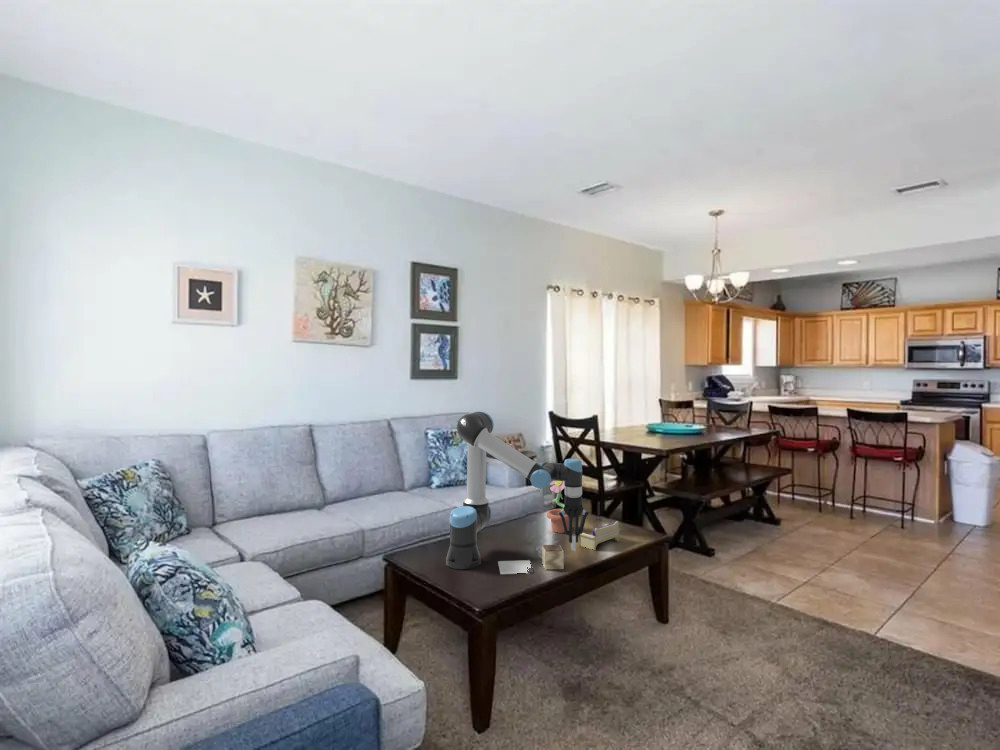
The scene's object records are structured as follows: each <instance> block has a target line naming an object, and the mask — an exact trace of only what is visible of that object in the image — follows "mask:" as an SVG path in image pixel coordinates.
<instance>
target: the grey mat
mask: <svg viewBox="0 0 1000 750" xmlns="http://www.w3.org/2000/svg"><path fill="white" fill-rule="evenodd" d="M497 563H498V564H497V565H498V568H499V569H498V570H499V574H500V575H518V574H517V573H526V574H529V573H528V572H527V570H528V569H529V568H531V565H532V563H531V561H530V559H528V560H523V559H522V560H500V561H498V560H497ZM530 563H531V564H530ZM527 567H528V569H527ZM528 571H529V570H528Z"/></svg>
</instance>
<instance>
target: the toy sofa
mask: <svg viewBox="0 0 1000 750" xmlns="http://www.w3.org/2000/svg"><path fill="white" fill-rule="evenodd" d="M619 524H620V522H619V521H618V520H615V521H614V522H613V521H612V522H610V523H609V524H608V523H605V524H604V525H602V526H600V527H595V528H593V529H592V531H591V532H592V533H589V534H588V533H585V532H583V533H582V534H579V535H580V546H581V547H583V548H585V547H586V548H585V549H588V548H589V549H588V550H592V549H593V550H592V551H596V550H597V546H598V544H601V543H604V542H606V541H609V540H612V541H615V542H620V532H621V528H620V527H619Z"/></svg>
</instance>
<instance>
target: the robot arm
mask: <svg viewBox="0 0 1000 750" xmlns="http://www.w3.org/2000/svg"><path fill="white" fill-rule="evenodd" d="M494 426H495V424H494V419H493V418H492V416H491V415H490V414H488V413H487V412H485V411H473V412H471V413H467V414H464V415H462V416H461V417H460V418H459V419H458V421H457V424H456V431H457V433H458V436H459V437H460V438H461V439H462V440H463V441H464V443H465V444H466V445H467V458H466V459H467V461H466V462H467V463H466V467H467V469H466V496H465V498H464V499H463V500H462V506H459V507H454V509H452V510H451V512H450V513H449V520H448V521H449V547H448V551H447V555H446V557H445V565H446V567H449V568H451V569H454V570H469V569H470V570H471V569H475V568H478V567H479V566H480V565H481V564H482V557H481V553H480V551H479V547H478V545H477V543H478V541H477V540H478V539H477V537H478V536H477V535H478V534H477V533H478V532H480V531H481V530H482V529H484V528H485V527H486V526H488V525H489V523H490V521H491V519H492V509H491V506H489V499H488V498H487V497H486V490H487V489H486V484H487V483H486V481H487V480H486V479H487V454H488V455H491V456H492V457H493V458H495V459H497V461H500V462H501V463H503V464H504V465H505V466H507V467H509V468H510V469H511V470H513V471H515V472H517V473H518V474H520V475H521V476H523V477H524V478H527V480H529V481H530V483H531V485H532V486H533V488H536V489H538V490H539V489H541V490H542V489H544V488H546V487H548V486H549V485H550V483H551V482H552V481H564V483H565V484H564V485H565V488H564V498H563V499H564V508H563V507H562V509H563V510H562V511H559V512H558V513H559V515H560V516H561V520H562V524H563V528H564V532H565V533H564V534H565V535H567V536H568V542H569V544H570V550H571V551H572V552H576V549H577V543H578V542H579V535H580V534H582V533H584V527H585V523H586V519H587V517H588V515H589V512H588V510H585V509H584V507H583V496H582V495H583V464H582V460H580V459H578V458H566V459H564V462H563V463H558V462H547V461H545V462H539V463H538V462H537V461H534V460H533V459H531V458H530V457H528V456H526V455H525V454H523V453H522V452H520V451H519V450H518V449H516V448H514V447H513V446H511V445H509V444H508V443H506V442H505V441H504V440H502V439H500V438H499V437H496V435H493V434H492V432H493V430H494ZM564 512H565V513H566V514H567V515H568V530H567V526H566V522H565V518H564V515H565V514H564ZM580 515H581V519H580V522H579V517H580ZM579 523H580V524H579ZM573 525H574V526H573ZM573 527H574V532H573ZM578 544H579V543H578Z"/></svg>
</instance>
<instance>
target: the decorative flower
mask: <svg viewBox="0 0 1000 750" xmlns="http://www.w3.org/2000/svg"><path fill="white" fill-rule="evenodd" d="M564 484H565V483H564V481H552V482H551V483H550V484H549V485H550V486H551V487H550V488H549V489H550V491H551V492H554V494H556V498H553V499H552V502H555V503H556V505H557V506H559V507H561V508H555V509H550V510H549V511H547V513H546V518H547V519H550V523H551V530H552V531H553V532H554V533H557V532H558V534H562V533H563V534H565V533H564V528H563V524H562V520H561V516H560V515H559V513H558V512H559V511H562V510H563V508H564V505H565V503H563V502H560V498H561V500H563V499H564V498H563V494H562V491H563V490H565V485H564ZM563 501H564V500H563ZM564 514H565V515H564V518H565V522H566V526H567V530H568V515H567V514H566V513H565V512H564Z"/></svg>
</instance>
